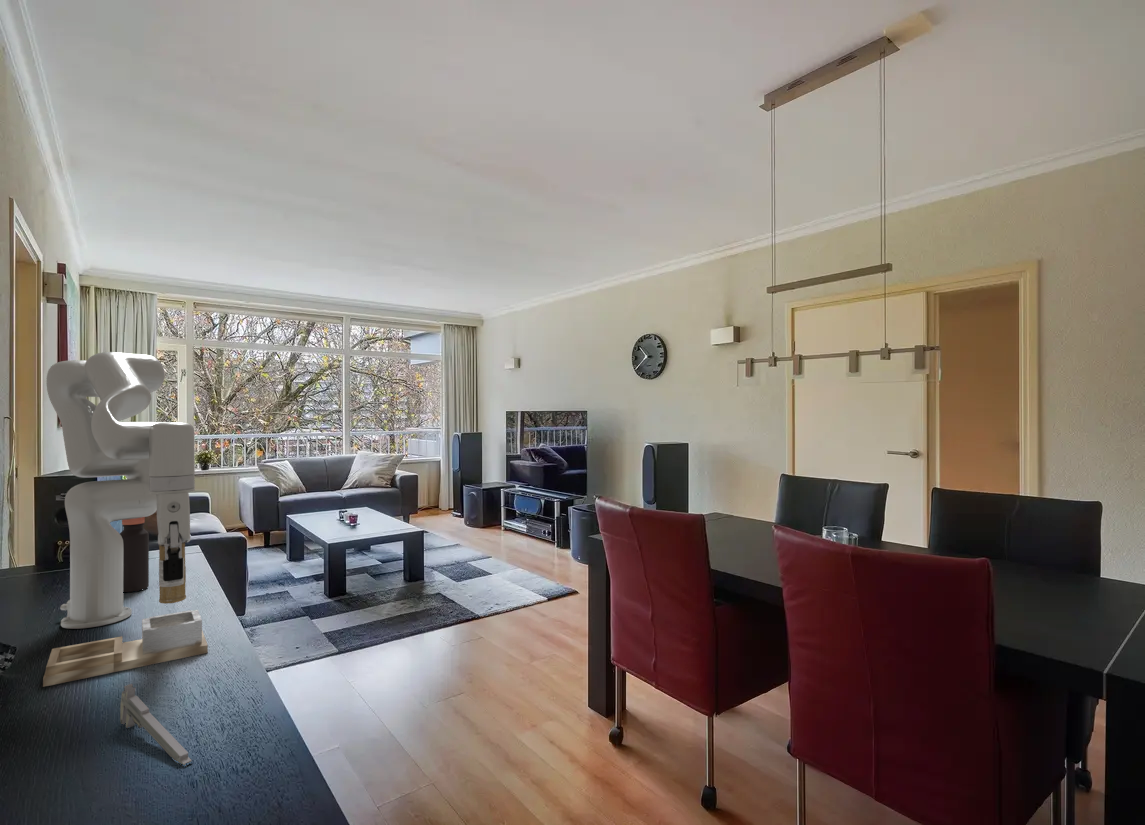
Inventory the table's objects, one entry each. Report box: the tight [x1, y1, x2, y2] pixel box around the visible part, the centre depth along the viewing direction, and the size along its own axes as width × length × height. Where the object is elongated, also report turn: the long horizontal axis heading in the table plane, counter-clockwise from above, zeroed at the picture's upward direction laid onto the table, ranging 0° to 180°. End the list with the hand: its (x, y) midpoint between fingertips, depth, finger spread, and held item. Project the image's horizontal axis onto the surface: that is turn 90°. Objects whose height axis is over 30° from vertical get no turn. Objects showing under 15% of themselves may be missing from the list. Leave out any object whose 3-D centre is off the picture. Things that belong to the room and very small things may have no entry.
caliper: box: [119, 683, 193, 765], centre depth 83 cm, size 20×1×6 cm, turn 57°
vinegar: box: [119, 517, 150, 593], centre depth 160 cm, size 7×7×20 cm
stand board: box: [42, 630, 209, 688], centre depth 113 cm, size 24×12×3 cm, turn 127°
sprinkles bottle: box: [157, 534, 187, 605], centre depth 117 cm, size 5×5×13 cm
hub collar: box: [141, 609, 203, 655], centre depth 117 cm, size 9×9×4 cm
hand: (172, 576), depth 117 cm, fingers closed on sprinkles bottle, 4 cm apart
